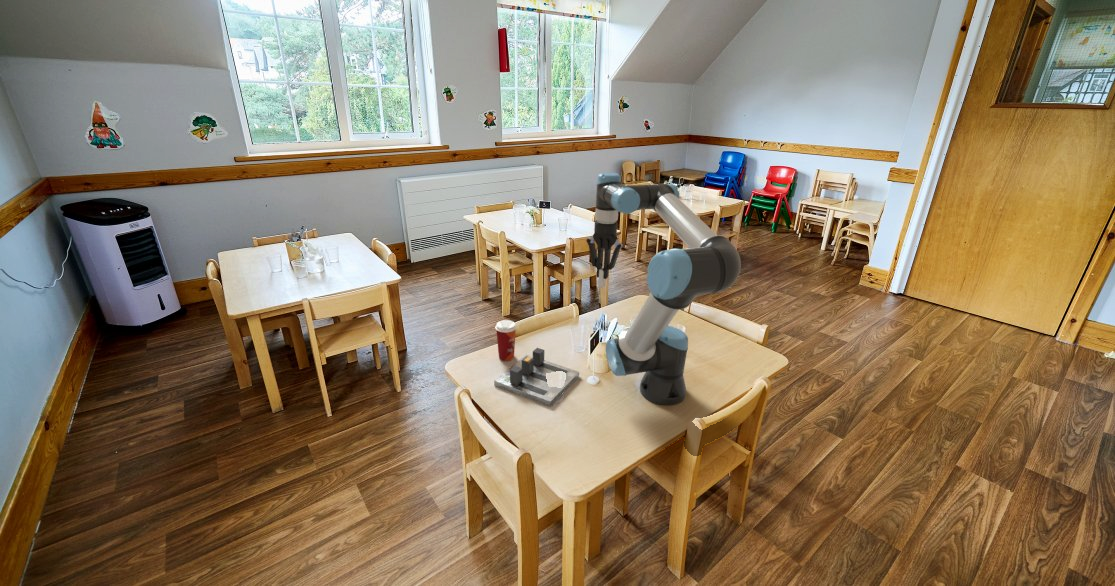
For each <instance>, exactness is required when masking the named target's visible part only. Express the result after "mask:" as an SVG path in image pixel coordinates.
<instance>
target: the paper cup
mask: <svg viewBox="0 0 1115 586" xmlns="http://www.w3.org/2000/svg"><path fill="white" fill-rule="evenodd" d="M494 328H495V331H496V341H497V352H498V358H499V360H500V361H502V362H510V361H512V360H514V358H515V348H516V347H515V346H516V331H517V330H516V329H517V325H516V323H515V322H514V321H513V320H510V319H503V320H500V321H498V322H496V325H495V327H494Z"/></svg>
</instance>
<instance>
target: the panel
mask: <svg viewBox="0 0 1115 586" xmlns="http://www.w3.org/2000/svg"><path fill="white" fill-rule="evenodd" d="M526 356H527V357H530V358H533V355H530V354H528V353H526V354H525V355H523V357H521V358H520V359H519V360H518V361H516V362H515V363H514V364H513V365H511V366H510V367H509V368H508V369H507V370H505V371H504V372H503V373H502V374H501V375H499V376H498V377H497V378H495V379H494V380H493V381H494V382H493V383H494V386H495V387H497V388H500V389H502V390H505V391H507V392H510V393H512V394H515V395H518V396H520V397H523V398H526V399H529V400H531V401H534V402H537V403H539V404H542V405H544V406H547V407H550V408H551V407H552V406H553V405H554V404H555V403H556V402H557V401H558V400H559V399H560V397H561V396H562V395H563V394H564V393H565V392H566V391H567V390H568V389H569V388H570V387H571V386H572V384H574V383H575V382H576V381H577V380H578V378H580V371H579V370H575V369H573V368H568V367H566V366H563V365H560V364H558V363H554V362H551V361H547V360H545V359H544V363H542V364H541V365H540V366H539V365H536V364H534V371H533V372H532V373H531V374H530V375H527V374H524V373H523V381H522V382H521V383H520V384H519V385H515V384H512V383H510V370H511V369H512V368H513V367H514V366H517V367H520V368H522V360H523V359H524V358H525V357H526ZM556 371H563V372H565V373H566V380H565V383H564V386H563V387H562V388H557V387H549V386H548V384H547V379H546V373H551V372H556ZM563 392H564V393H563ZM562 393H563V394H562Z"/></svg>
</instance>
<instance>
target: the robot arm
mask: <svg viewBox="0 0 1115 586" xmlns="http://www.w3.org/2000/svg"><path fill="white" fill-rule="evenodd" d="M595 196H596V197H595V198H596V199H595V211H594V212H595V215H594V220H595V221H594V229H593V230H594V233H593V234H592V236H591V237H588V238H586V244H587V245H588V248H589V249H588V250H589V255H590V262H591V266H592V267H594V268H596V278H598V281H597V282H598V284H597V285H598V288H600V289H603V288H604V287H605V286H606V280H607V279H608V278H609V272H610V271H611V270H612V269H614V268H615V267H616V266H615V265H616V263H617V260H618V257H619V254H620V251H621V249H622V248H623V247H624V243H623V242H621V241H619V240H618V236H617V235H618V234H617V232H618V219H619V213H621V214H626V215H628V214H633V213H634V212H636V211H643V210H653V211H654V212H655V213H656V215H657V214H658V216H659V217H660V218H661V219H662V220H663V221H664V223H666V225H667V226H668V227H669V228H670V229H671V231H673V233H675V235H677V237H678V238H680V240H681V241H682V242H683V243H684V245H686V246H687V248H671V249H668V250H667V249H665V250H661V251H660V252H659V251H658V252H657V253H656V254H654V255H653V257H651V259H650V261H649V264H648V266H647V272H648V273H647V274H646V283H647V287H648V290H649V291H650V293H649V294H648V296H647V298H646V300H645V301H644V303H643V305H642V306H641V307H640V310H639V311H638V313H637V315H636V316H635V318H634V320H633V322H632V323H631V325H630V327H628V328H627V327H626V328H625V329H624V330H623V331H622V332H621V333H620V334H619V336H618V337H617V338H610V339H608V340H607V341H606V343H605V354H606V356H605V357H606V360H607V363H608V367H609V369H610V371H611V372H612V374H613V375H614V376H616V377H622V376H630V375H635V374H641V373H644V374H643V376H642V378H641V380H640V383H639V392H640V393H641V395H642V397H644V398H645V399H646V400H648V401H650V402H652V403H654V404H658V405H661V406H662V405H663V406H673V405H677V404H680V403H682V402H684V400H685V399H686V395H687V394H686V393H687V388H686V382H685V377H684V376H685V375H684V372H685V365H686V361H687V353H688V349H689V337H688V335H687V334H686V333H685V332H684V331H683V330H681V329H680V328H677V327H674V326H673V325H672V326H671V325H669V324H670V323H671V322H672V321H673V319H674V318H675V316H676V315H677V313H678V312H679V311H680V310H681V311H682V310H684V309H686V308H688V307H689V306H690V305H691V304H692V303H693V301H694V299H695V298H696V297H698V296H701V295H708V294H717V293H722V292H724V291H726V290H728V289H729V288H730V287H732V286H733V284H734V283H735V282H736V281H737V279H738V278H739V276H740V273H741V268H742V264H741V263H742V262H741V257H740V254H739V252H738V250H737V248H736V246H734V244H733V243H732V242H731V241H730V240H729V239H728V238H727V237H726V236H725V235H722V234H721V235H720V234H717V233H716V232H714V231H713V230H712V229H711V227H709V225H707V223H705V222H704V221H703V220H702V219H701V218H700V217H699V216H698V215H696V213H694V211H693V210H691V209H690V208H689V207H688V206H687V205H686V204H685V203H684V202H683V201H682V200H681V199H680V196H681V195H680V191H679V188H678V186H676V185H675V184H673V183H657V184H634V185H633V184H631V185H630V184H629V185H628V184H627V185H625V184H622V176H621V174H619V173H617V172H601V173H599V174H598V175H597V183H596V195H595ZM613 246H614V249H613V253H612V256H611V251H612V247H613ZM609 270H610V271H609Z"/></svg>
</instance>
